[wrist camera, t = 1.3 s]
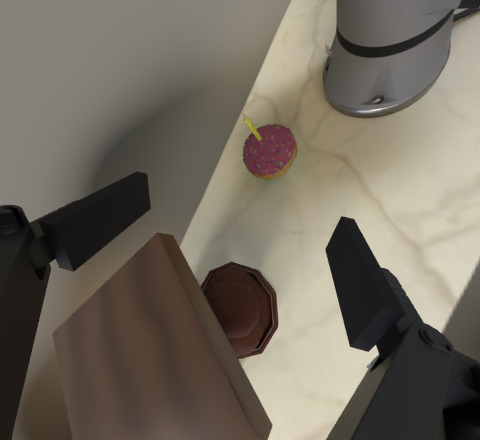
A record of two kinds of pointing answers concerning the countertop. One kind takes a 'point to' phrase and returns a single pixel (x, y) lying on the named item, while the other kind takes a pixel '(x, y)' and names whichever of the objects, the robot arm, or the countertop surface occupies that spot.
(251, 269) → the ice cream bowl
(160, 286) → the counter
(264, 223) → the countertop surface
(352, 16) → the robot arm
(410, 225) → the countertop surface
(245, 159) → the cupcake
